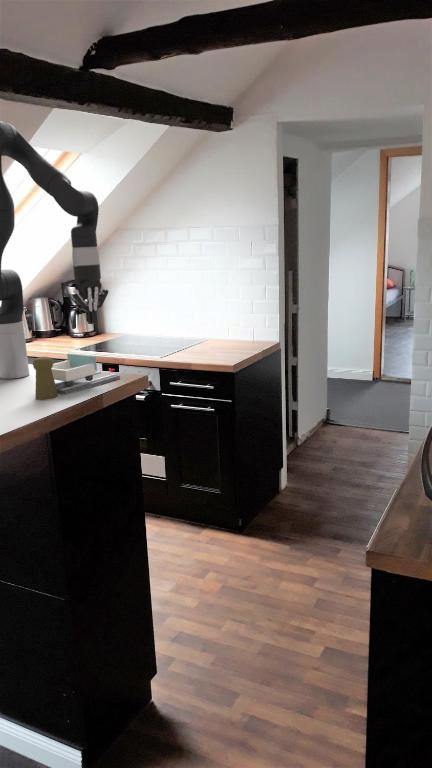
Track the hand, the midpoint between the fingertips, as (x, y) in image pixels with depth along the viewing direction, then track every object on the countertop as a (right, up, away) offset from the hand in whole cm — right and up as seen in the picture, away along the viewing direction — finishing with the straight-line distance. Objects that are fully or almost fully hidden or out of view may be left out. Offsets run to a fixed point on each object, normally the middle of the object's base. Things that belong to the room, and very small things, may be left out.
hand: (91, 323), depth 176 cm
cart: (-5, -17, -5) cm, 19 cm away
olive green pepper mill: (-10, -21, -13) cm, 27 cm away
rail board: (-3, -18, -1) cm, 18 cm away
